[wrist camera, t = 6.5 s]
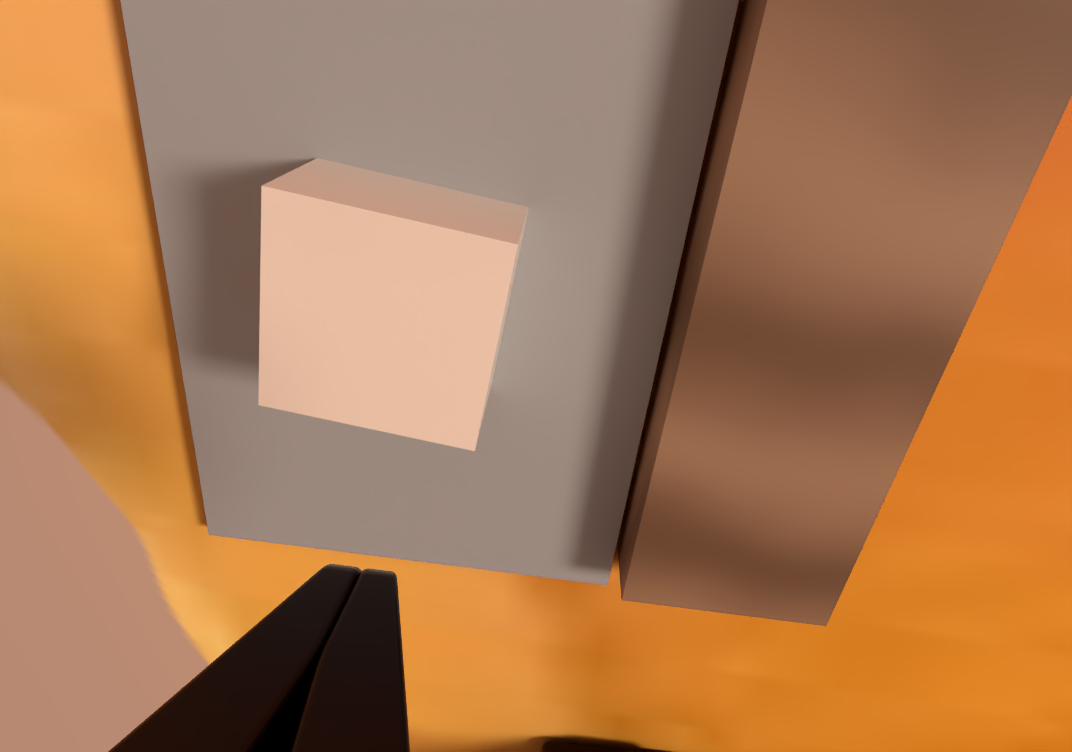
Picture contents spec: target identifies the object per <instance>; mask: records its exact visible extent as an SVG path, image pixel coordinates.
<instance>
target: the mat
mask: <svg viewBox="0 0 1072 752" xmlns="http://www.w3.org/2000/svg"><path fill="white" fill-rule="evenodd" d="M120 2H121V8H122V14H123V20H124V26H125V32H126V38H127V44H128V50H129V56H130V62H131V68H132V74H133V80H134V86H135V92H136V98H137V104H138V110H139V117H140V123H141V129H142V135H143V141H144V147H145V153H146V159H147V165H148V171H149V177H150V183H151V189H152V195H153V201H154V207H155V213H156V219H157V225H158V231H159V237H160V243H161V249H162V255H163V261H164V267H165V273H166V279H167V285H168V292H169V298H170V304H171V310H172V316H173V322H174V328H175V334H176V340H177V346H178V352H179V358H180V364H181V370H182V376H183V382H184V388H185V394H186V400H187V406H188V412H189V418H190V424H191V430H192V436H193V442H194V448H195V454H196V460H197V466H198V473H199V479H200V485H201V491H202V497H203V503H204V509H205V515H206V521H207V527H208V533H209V535H215V536H222V537H230V538H238V539H246V540H254V541H262V542H270V543H278V544H285V545H293V546H301V547H309V548H317V549H325V550H333V551H341V552H348V553H356V554H364V555H372V556H380V557H388V558H396V559H404V560H412V561H419V562H427V563H435V564H443V565H451V566H459V567H467V568H475V569H482V570H490V571H498V572H506V573H514V574H522V575H530V576H538V577H545V578H553V579H561V580H569V581H577V582H585V583H593V584H601V585H608V580H609V576H610V571H611V567H612V563H613V558H614V554H615V549H616V545H617V540H618V536H619V531H620V527H621V523H622V518H623V514H624V509H625V505H626V500H627V496H628V491H629V487H630V483H631V478H632V474H633V469H634V465H635V460H636V456H637V451H638V447H639V442H640V438H641V434H642V429H643V425H644V420H645V416H646V411H647V407H648V402H649V398H650V394H651V389H652V385H653V380H654V376H655V371H656V367H657V362H658V358H659V354H660V349H661V345H662V340H663V336H664V331H665V327H666V322H667V318H668V314H669V309H670V305H671V300H672V296H673V291H674V287H675V282H676V278H677V274H678V269H679V265H680V260H681V256H682V251H683V247H684V242H685V238H686V234H687V229H688V225H689V220H690V216H691V211H692V207H693V202H694V198H695V194H696V189H697V185H698V180H699V176H700V171H701V167H702V162H703V158H704V153H705V149H706V145H707V140H708V136H709V131H710V127H711V122H712V118H713V113H714V109H715V105H716V100H717V96H718V91H719V87H720V82H721V78H722V73H723V69H724V65H725V60H726V56H727V51H728V47H729V42H730V38H731V33H732V29H733V25H734V20H735V16H736V11H737V7H738V2H739V0H120ZM316 158H319V159H324V160H328V161H332V162H336V163H341V164H345V165H349V166H354V167H358V168H362V169H367V170H371V171H375V172H379V173H384V174H388V175H392V176H397V177H401V178H405V179H410V180H414V181H418V182H422V183H427V184H431V185H435V186H440V187H444V188H448V189H453V190H457V191H461V192H465V193H470V194H474V195H478V196H483V197H487V198H491V199H496V200H500V201H504V202H508V203H513V204H517V205H521V206H526V207H529V208H528V213H527V218H526V222H525V227H524V232H523V237H522V241H521V246H520V251H519V256H518V260H517V265H516V270H515V275H514V279H513V284H512V289H511V294H510V298H509V303H508V308H507V313H506V317H505V322H504V327H503V332H502V336H501V341H500V346H499V350H498V355H497V360H496V365H495V369H494V374H493V379H492V384H491V388H490V392H489V396H488V400H487V404H486V408H485V412H484V416H483V420H482V424H481V428H480V433H479V437H478V441H477V445H476V449H475V451H471V450H467V449H462V448H457V447H452V446H448V445H443V444H438V443H434V442H429V441H424V440H420V439H415V438H410V437H406V436H401V435H396V434H392V433H387V432H382V431H377V430H373V429H368V428H363V427H359V426H354V425H349V424H345V423H340V422H335V421H331V420H326V419H321V418H316V417H312V416H307V415H302V414H298V413H293V412H288V411H284V410H279V409H274V408H270V407H265V406H260V405H258V398H259V327H260V256H261V186H262V185H264V184H266V183H268V182H270V181H272V180H274V179H276V178H278V177H280V176H282V175H284V174H286V173H288V172H290V171H292V170H294V169H296V168H298V167H300V166H302V165H304V164H306V163H308V162H310V161H312V160H314V159H316Z"/></svg>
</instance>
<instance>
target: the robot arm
mask: <svg viewBox="0 0 1072 752" xmlns="http://www.w3.org/2000/svg"><path fill="white" fill-rule="evenodd" d="M109 752H410V744H409V731H408V718H407V705H406V691H405V678H404V665H403V652H402V638H401V625H400V612H399V599H398V585H397V576H396V574H395V573H394V572H391V571H383V570H375V569H365V570H363V571H362V572H361V570H360V569H359V568H357V567H352V566H344V565H336V564H329V565H326V566H325V567H323V568H322V569H320V570H319V571H318V572H317V573H316V574H315V575H314V576H312V577H311V578H310V579H309V580H308V581H307V582H305V583H304V584H303V585H302V586H301V587H300V588H298V589H297V590H296V591H295V592H294V593H293V594H291V595H290V596H289V597H288V598H287V599H286V600H284V601H283V602H282V603H281V604H280V605H279V606H277V607H276V608H275V609H274V610H273V611H272V612H270V613H269V614H268V615H267V616H266V617H265V618H263V619H262V620H261V621H260V622H259V623H258V624H256V625H255V626H254V627H253V628H252V629H251V630H249V631H248V632H247V633H246V634H245V635H244V636H242V637H241V638H240V639H239V640H238V641H237V642H235V643H234V644H233V645H232V646H231V647H230V648H229V649H227V650H226V651H225V652H224V653H223V654H222V655H220V656H219V657H218V658H217V659H216V660H215V661H213V662H212V663H211V664H210V665H209V666H208V667H206V668H205V669H204V670H203V671H202V672H201V673H199V674H198V675H197V676H196V677H195V678H194V679H192V680H191V681H190V682H189V683H188V684H187V685H186V686H184V687H183V688H182V689H181V690H180V691H178V692H177V693H176V694H175V695H174V696H173V697H172V698H170V699H169V700H168V701H167V702H166V703H164V704H163V705H162V706H161V707H160V708H159V709H158V710H156V711H155V712H154V713H153V714H152V715H150V716H149V717H148V718H147V719H146V720H145V721H144V722H143V723H141V724H140V725H139V726H138V727H137V728H135V729H134V730H133V731H132V732H131V733H130V734H128V735H127V736H126V737H125V738H124V739H123V740H121V741H120V742H119V743H118V744H117V745H116V746H114V747H113V748H112V749H111V750H110V751H109ZM541 752H634V751H627V750H619V749H611V748H603V747H595V746H587V745H579V744H571V743H564V742H547V743H545V744H544V745H543V746H542V749H541Z"/></svg>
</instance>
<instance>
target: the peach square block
mask: <svg viewBox="0 0 1072 752" xmlns="http://www.w3.org/2000/svg"><path fill="white" fill-rule="evenodd" d="M528 208H529V207H526V206H521V205H517V204H513V203H508V202H504V201H500V200H496V199H491V198H487V197H483V196H478V195H474V194H470V193H465V192H461V191H457V190H453V189H448V188H444V187H440V186H435V185H431V184H427V183H422V182H418V181H414V180H410V179H405V178H401V177H397V176H392V175H388V174H384V173H379V172H375V171H371V170H367V169H362V168H358V167H354V166H349V165H345V164H341V163H336V162H332V161H328V160H324V159H319V158H316V159H314V160H312V161H310V162H308V163H306V164H304V165H302V166H300V167H298V168H296V169H294V170H292V171H290V172H288V173H286V174H284V175H282V176H280V177H278V178H276V179H274V180H272V181H270V182H268V183H266V184H264V185H262V186H261V256H260V327H259V398H258V405H260V406H265V407H270V408H274V409H279V410H284V411H288V412H293V413H298V414H302V415H307V416H312V417H316V418H321V419H326V420H331V421H335V422H340V423H345V424H349V425H354V426H359V427H363V428H368V429H373V430H377V431H382V432H387V433H392V434H396V435H401V436H406V437H410V438H415V439H420V440H424V441H429V442H434V443H438V444H443V445H448V446H452V447H457V448H462V449H467V450H471V451H475V449H476V445H477V441H478V437H479V433H480V428H481V424H482V420H483V416H484V412H485V408H486V404H487V400H488V396H489V392H490V388H491V384H492V379H493V374H494V369H495V365H496V360H497V355H498V350H499V346H500V341H501V336H502V332H503V327H504V322H505V317H506V313H507V308H508V303H509V298H510V294H511V289H512V284H513V279H514V275H515V270H516V265H517V260H518V256H519V251H520V246H521V241H522V237H523V232H524V227H525V222H526V218H527V213H528Z"/></svg>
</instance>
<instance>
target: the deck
mask: <svg viewBox="0 0 1072 752" xmlns="http://www.w3.org/2000/svg"><path fill="white" fill-rule="evenodd" d="M1071 96H1072V0H744V2H743V6H742V11H741V15H740V19H739V24H738V28H737V32H736V37H735V41H734V46H733V50H732V54H731V59H730V63H729V68H728V72H727V76H726V81H725V85H724V89H723V94H722V98H721V103H720V107H719V111H718V116H717V120H716V125H715V129H714V133H713V138H712V142H711V147H710V151H709V155H708V160H707V164H706V168H705V173H704V177H703V182H702V186H701V190H700V195H699V199H698V204H697V208H696V212H695V217H694V221H693V225H692V230H691V234H690V239H689V243H688V247H687V252H686V256H685V261H684V265H683V269H682V274H681V278H680V282H679V287H678V291H677V296H676V300H675V304H674V309H673V313H672V318H671V322H670V326H669V331H668V335H667V340H666V344H665V348H664V353H663V357H662V361H661V366H660V370H659V375H658V379H657V383H656V388H655V392H654V397H653V401H652V405H651V410H650V414H649V418H648V423H647V427H646V432H645V436H644V440H643V445H642V449H641V454H640V458H639V462H638V467H637V471H636V475H635V480H634V484H633V489H632V493H631V497H630V502H629V506H628V511H627V515H626V519H625V524H624V528H623V533H622V537H621V541H620V546H619V550H618V557H619V570H620V584H621V598H622V600H625V601H633V602H640V603H648V604H656V605H664V606H672V607H680V608H688V609H696V610H704V611H711V612H719V613H727V614H735V615H743V616H751V617H759V618H767V619H774V620H782V621H790V622H798V623H806V624H814V625H822V626H826V625H827V623H828V621H829V619H830V617H831V614H832V612H833V610H834V608H835V606H836V604H837V601H838V599H839V597H840V595H841V593H842V591H843V588H844V586H845V584H846V582H847V580H848V578H849V576H850V573H851V571H852V569H853V567H854V565H855V563H856V560H857V558H858V556H859V554H860V552H861V550H862V547H863V545H864V543H865V541H866V539H867V537H868V534H869V532H870V530H871V528H872V526H873V524H874V521H875V519H876V517H877V515H878V513H879V511H880V509H881V506H882V504H883V502H884V500H885V498H886V496H887V493H888V491H889V489H890V487H891V485H892V483H893V480H894V478H895V476H896V474H897V472H898V470H899V467H900V465H901V463H902V461H903V459H904V457H905V454H906V452H907V450H908V448H909V446H910V444H911V442H912V439H913V437H914V435H915V433H916V431H917V429H918V426H919V424H920V422H921V420H922V418H923V416H924V413H925V411H926V409H927V407H928V405H929V403H930V400H931V398H932V396H933V394H934V392H935V390H936V387H937V385H938V383H939V381H940V379H941V377H942V375H943V372H944V370H945V368H946V366H947V364H948V362H949V359H950V357H951V355H952V353H953V351H954V349H955V346H956V344H957V342H958V340H959V338H960V336H961V333H962V331H963V329H964V327H965V325H966V323H967V321H968V318H969V316H970V314H971V312H972V310H973V308H974V305H975V303H976V301H977V299H978V297H979V295H980V292H981V290H982V288H983V286H984V284H985V282H986V279H987V277H988V275H989V273H990V271H991V269H992V266H993V264H994V262H995V260H996V258H997V256H998V254H999V251H1000V249H1001V247H1002V245H1003V243H1004V241H1005V238H1006V236H1007V234H1008V232H1009V230H1010V228H1011V225H1012V223H1013V221H1014V219H1015V217H1016V215H1017V212H1018V210H1019V208H1020V206H1021V204H1022V202H1023V199H1024V197H1025V195H1026V193H1027V191H1028V189H1029V187H1030V184H1031V182H1032V180H1033V178H1034V176H1035V174H1036V171H1037V169H1038V167H1039V165H1040V163H1041V161H1042V158H1043V156H1044V154H1045V152H1046V150H1047V148H1048V145H1049V143H1050V141H1051V139H1052V137H1053V135H1054V132H1055V130H1056V128H1057V126H1058V124H1059V122H1060V120H1061V117H1062V115H1063V113H1064V111H1065V109H1066V107H1067V104H1068V102H1069V100H1070V98H1071Z"/></svg>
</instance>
